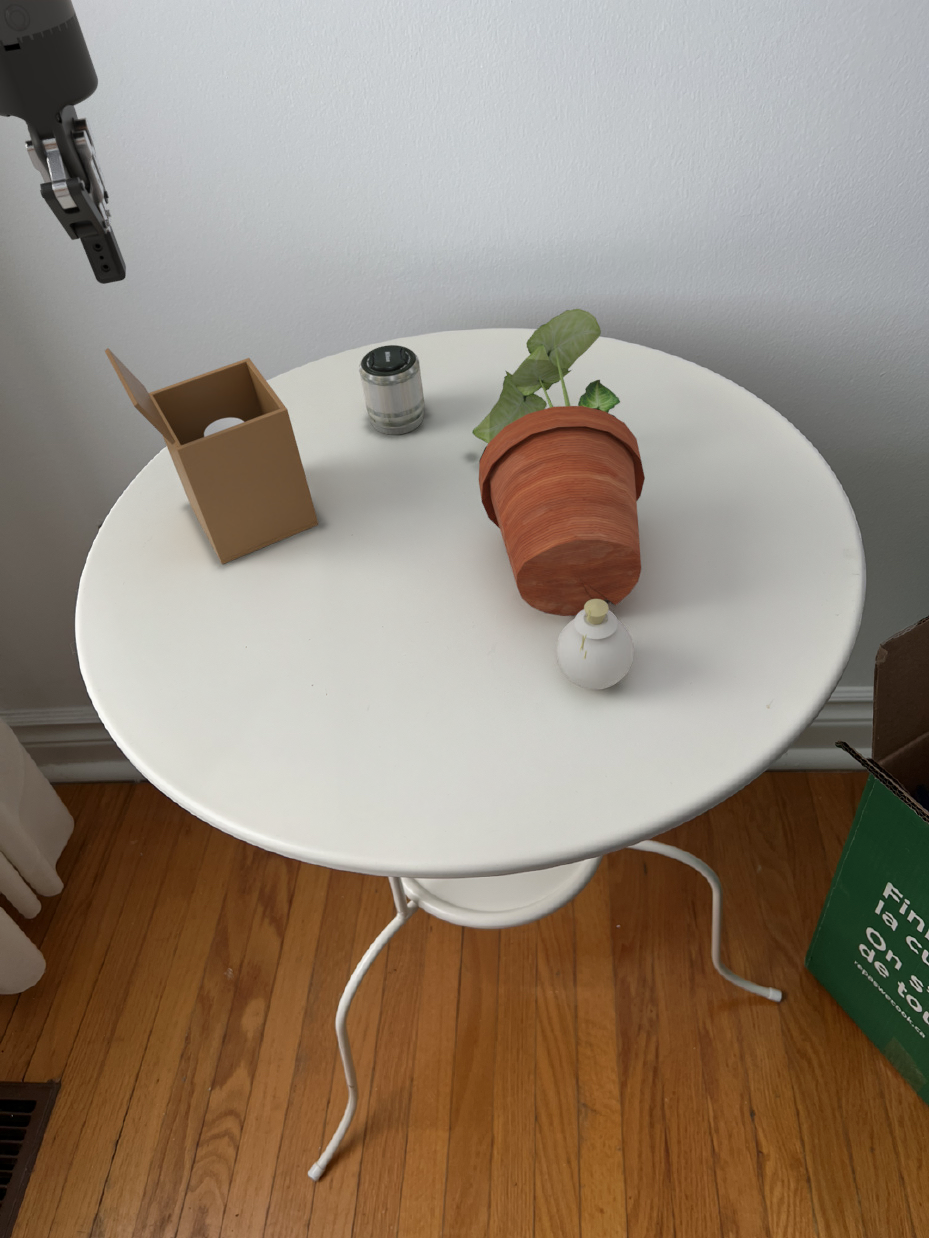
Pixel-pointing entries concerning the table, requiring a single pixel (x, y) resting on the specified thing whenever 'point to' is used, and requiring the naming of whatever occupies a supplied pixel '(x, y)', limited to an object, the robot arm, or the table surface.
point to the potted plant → (562, 478)
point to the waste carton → (237, 459)
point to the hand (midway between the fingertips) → (113, 277)
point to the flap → (139, 396)
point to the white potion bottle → (595, 647)
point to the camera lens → (392, 389)
